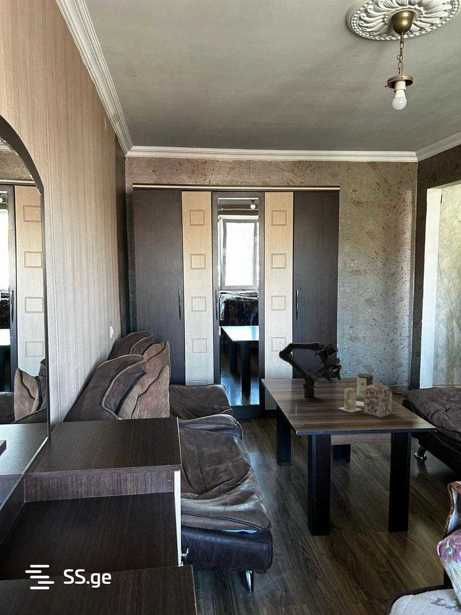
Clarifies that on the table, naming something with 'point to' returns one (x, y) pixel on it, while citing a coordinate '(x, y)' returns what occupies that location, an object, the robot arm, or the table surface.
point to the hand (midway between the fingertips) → (335, 381)
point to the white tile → (351, 410)
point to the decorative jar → (378, 400)
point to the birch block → (350, 398)
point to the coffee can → (363, 383)
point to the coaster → (359, 403)
